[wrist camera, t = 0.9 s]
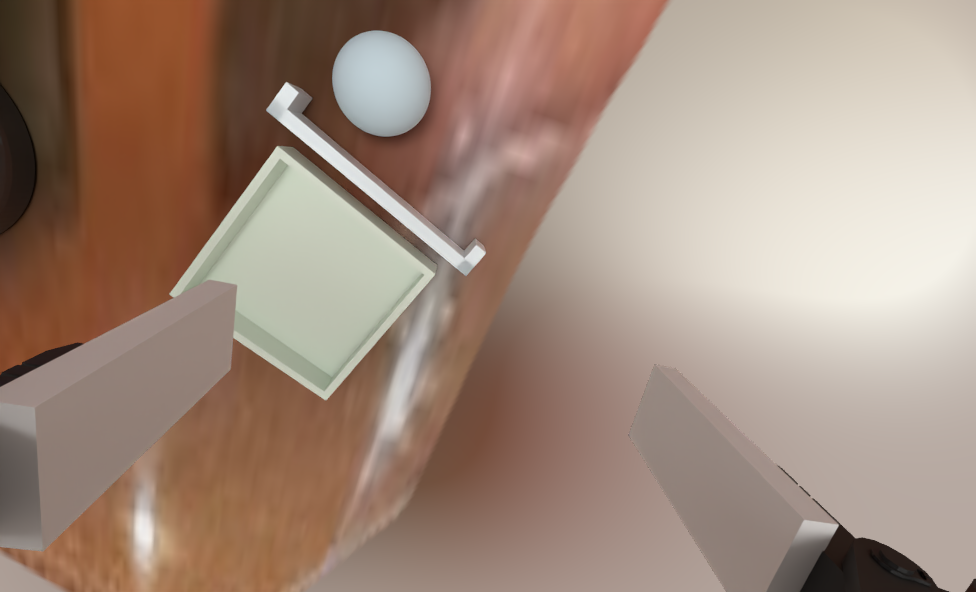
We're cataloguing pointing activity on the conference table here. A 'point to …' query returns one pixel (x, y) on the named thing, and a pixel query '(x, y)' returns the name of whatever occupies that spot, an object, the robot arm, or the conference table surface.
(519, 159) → the conference table surface
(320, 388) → the tray
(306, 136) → the white bar handle
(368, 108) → the ball
